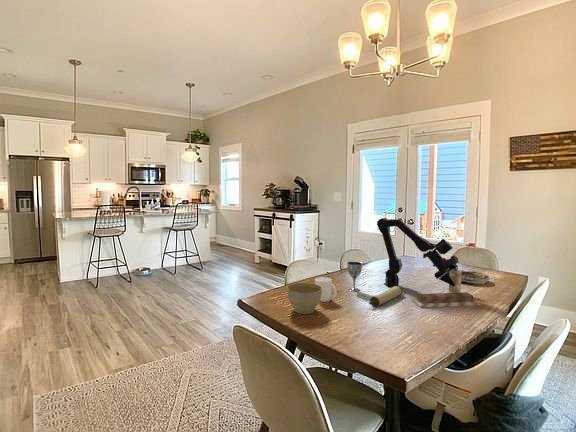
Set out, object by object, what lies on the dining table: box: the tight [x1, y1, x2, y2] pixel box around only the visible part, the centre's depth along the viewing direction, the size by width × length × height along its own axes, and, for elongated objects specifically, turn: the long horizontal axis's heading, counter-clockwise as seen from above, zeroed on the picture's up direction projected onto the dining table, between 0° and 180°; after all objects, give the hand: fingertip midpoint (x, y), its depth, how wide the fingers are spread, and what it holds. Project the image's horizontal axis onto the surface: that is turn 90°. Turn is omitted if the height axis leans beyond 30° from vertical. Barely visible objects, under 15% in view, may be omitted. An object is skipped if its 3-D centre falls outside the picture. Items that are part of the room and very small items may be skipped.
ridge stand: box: [410, 292, 481, 308], centre depth 165 cm, size 30×9×4 cm, turn 96°
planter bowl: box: [286, 282, 322, 315], centre depth 155 cm, size 16×16×11 cm
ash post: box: [448, 270, 462, 293], centre depth 175 cm, size 4×4×13 cm
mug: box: [314, 276, 338, 303], centre depth 169 cm, size 12×8×10 cm
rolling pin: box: [368, 285, 403, 308], centre depth 169 cm, size 32×6×5 cm, turn 135°
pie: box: [458, 269, 490, 286], centre depth 205 cm, size 28×27×5 cm
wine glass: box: [346, 261, 363, 293], centre depth 185 cm, size 8×8×15 cm
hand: (457, 284), depth 174 cm, fingers open, 9 cm apart
